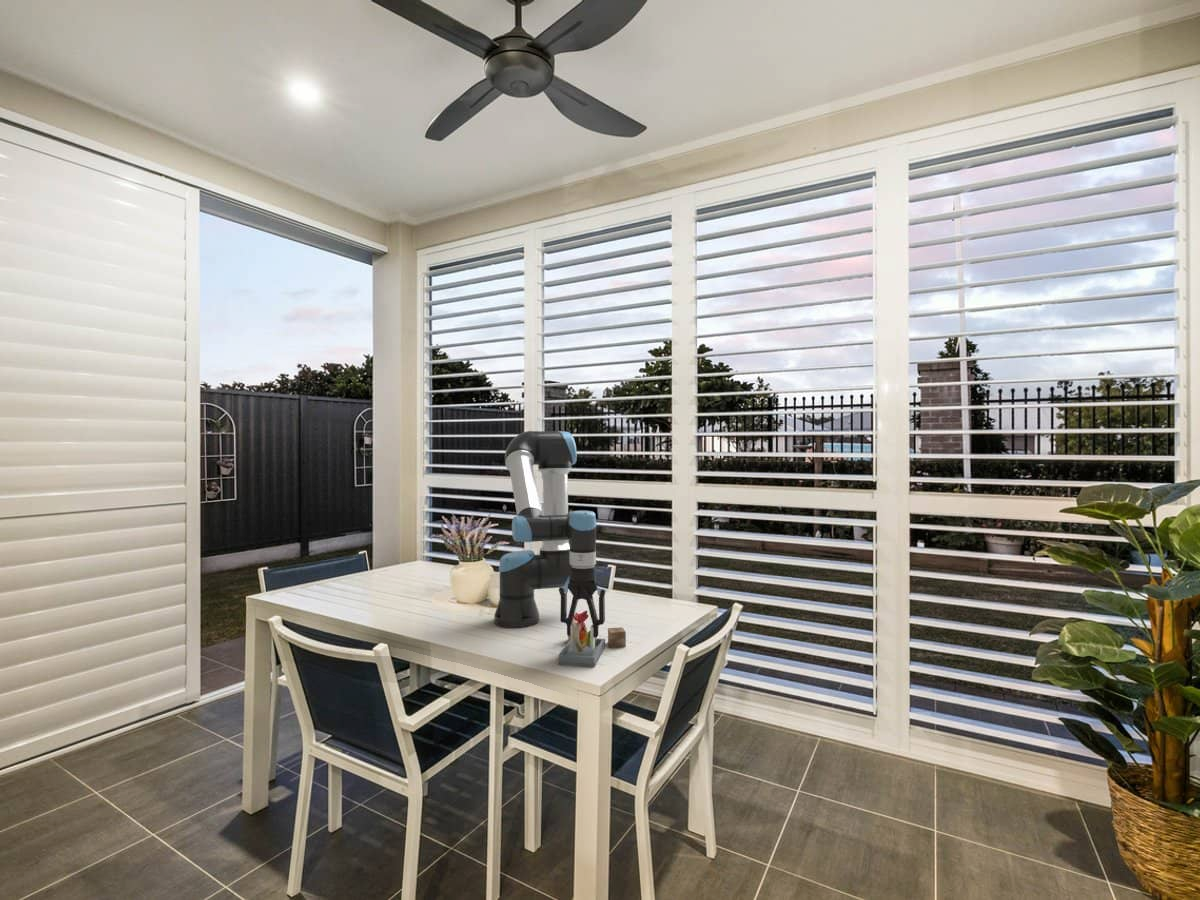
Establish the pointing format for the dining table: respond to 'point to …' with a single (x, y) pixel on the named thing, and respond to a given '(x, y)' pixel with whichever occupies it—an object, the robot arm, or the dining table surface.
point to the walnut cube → (616, 637)
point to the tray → (581, 655)
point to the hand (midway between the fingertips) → (582, 647)
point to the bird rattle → (581, 631)
